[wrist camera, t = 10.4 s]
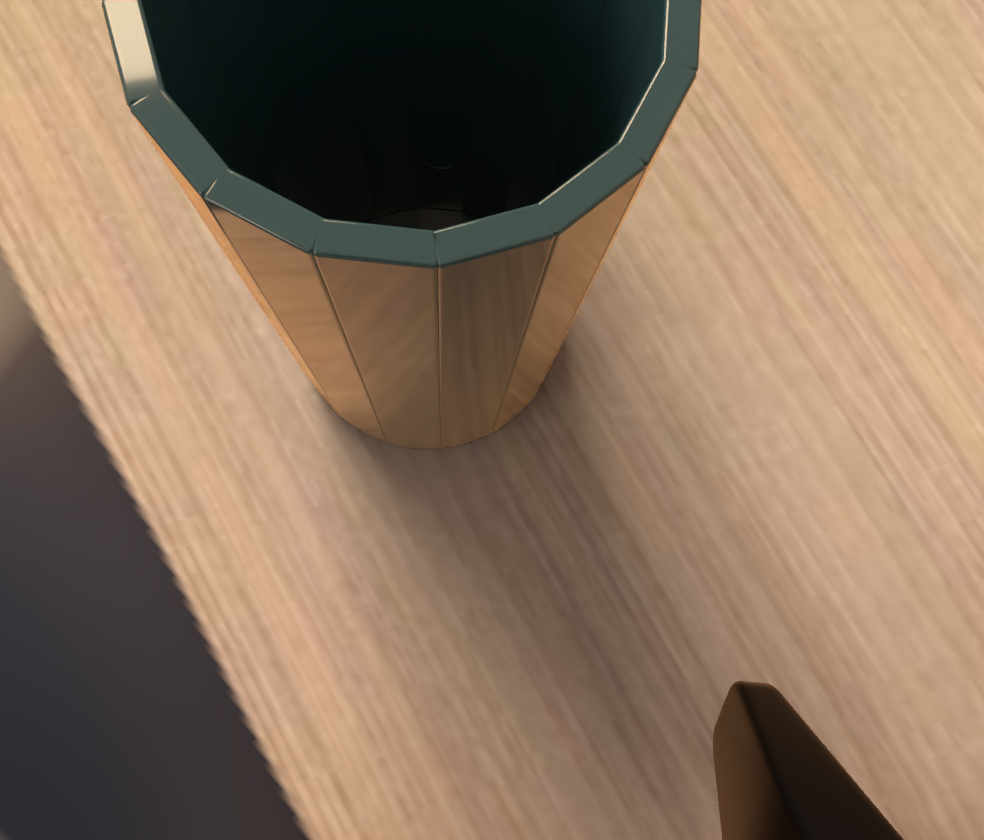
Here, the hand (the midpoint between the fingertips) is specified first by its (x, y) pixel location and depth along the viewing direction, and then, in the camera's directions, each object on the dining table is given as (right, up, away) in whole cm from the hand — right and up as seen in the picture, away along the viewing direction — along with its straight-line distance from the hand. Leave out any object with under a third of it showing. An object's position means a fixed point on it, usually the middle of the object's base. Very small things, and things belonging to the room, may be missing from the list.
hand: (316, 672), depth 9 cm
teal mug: (0, +7, +14) cm, 16 cm away
